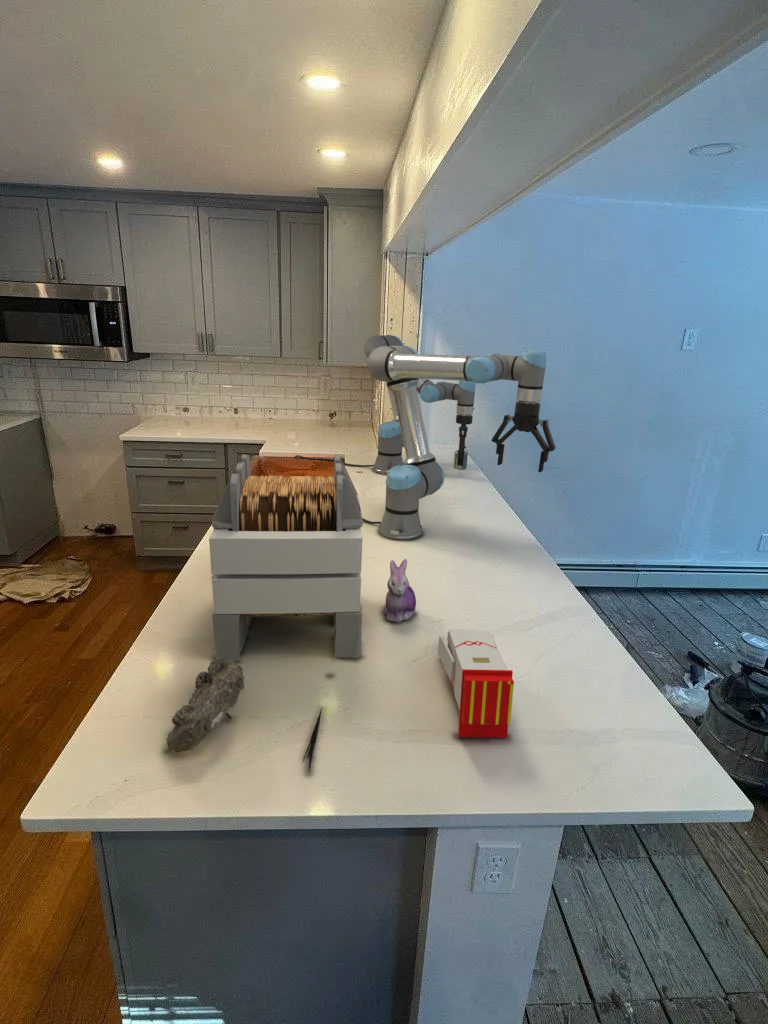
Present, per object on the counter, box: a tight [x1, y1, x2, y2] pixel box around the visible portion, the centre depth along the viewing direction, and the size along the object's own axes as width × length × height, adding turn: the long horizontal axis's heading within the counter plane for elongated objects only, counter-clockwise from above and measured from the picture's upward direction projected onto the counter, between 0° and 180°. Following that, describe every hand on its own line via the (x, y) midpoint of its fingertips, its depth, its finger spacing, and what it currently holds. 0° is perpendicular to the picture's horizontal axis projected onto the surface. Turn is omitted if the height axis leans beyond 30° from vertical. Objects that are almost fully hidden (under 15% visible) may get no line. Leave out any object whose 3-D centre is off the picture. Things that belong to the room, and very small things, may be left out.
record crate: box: [208, 453, 364, 661], centre depth 135 cm, size 34×33×41 cm
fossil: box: [166, 659, 245, 754], centre depth 106 cm, size 22×10×15 cm
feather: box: [301, 673, 332, 771], centre depth 108 cm, size 2×28×2 cm
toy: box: [437, 628, 515, 738], centre depth 117 cm, size 12×13×30 cm
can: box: [452, 450, 469, 471], centre depth 267 cm, size 6×6×8 cm
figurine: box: [384, 558, 417, 623], centre depth 145 cm, size 9×10×15 cm
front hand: (519, 467), depth 184 cm, fingers open, 13 cm apart
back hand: (460, 463), depth 267 cm, fingers closed on can, 6 cm apart
